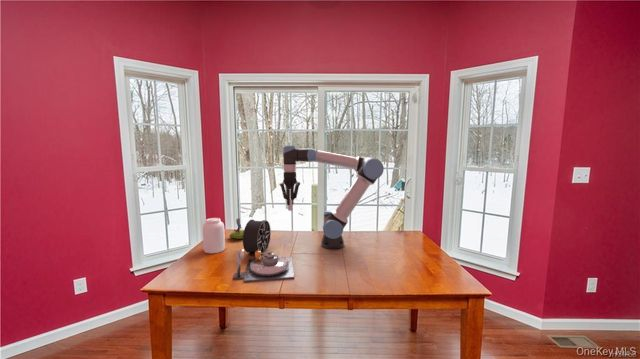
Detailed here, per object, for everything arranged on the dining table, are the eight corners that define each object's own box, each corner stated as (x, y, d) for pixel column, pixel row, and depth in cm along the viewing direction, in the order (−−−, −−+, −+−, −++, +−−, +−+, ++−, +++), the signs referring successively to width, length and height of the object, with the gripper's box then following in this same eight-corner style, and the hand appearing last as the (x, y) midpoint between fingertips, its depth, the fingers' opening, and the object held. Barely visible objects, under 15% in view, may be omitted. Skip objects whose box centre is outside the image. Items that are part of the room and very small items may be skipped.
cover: (269, 258, 147) (268, 249, 146) (281, 261, 143) (280, 252, 143) (259, 264, 140) (259, 254, 139) (272, 267, 136) (271, 257, 136)
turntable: (267, 256, 155) (266, 244, 154) (296, 263, 146) (296, 251, 145) (242, 270, 137) (241, 257, 136) (273, 279, 128) (272, 265, 127)
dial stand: (245, 273, 136) (244, 248, 135) (243, 278, 131) (242, 252, 130) (234, 274, 136) (233, 248, 134) (233, 279, 131) (232, 252, 129)
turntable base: (291, 258, 155) (291, 256, 155) (294, 278, 132) (293, 276, 132) (248, 261, 152) (248, 259, 151) (243, 282, 128) (243, 279, 128)
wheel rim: (257, 259, 154) (257, 225, 152) (243, 257, 156) (242, 224, 154) (270, 246, 174) (270, 216, 171) (257, 245, 176) (257, 215, 173)
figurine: (231, 235, 195) (231, 215, 193) (249, 234, 197) (248, 214, 195) (227, 242, 182) (226, 220, 180) (246, 241, 183) (245, 220, 181)
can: (207, 255, 159) (206, 223, 156) (200, 249, 168) (199, 218, 166) (228, 250, 167) (227, 219, 165) (220, 244, 176) (219, 215, 174)
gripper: (296, 170, 165) (297, 207, 168) (277, 171, 159) (277, 210, 162) (302, 171, 159) (302, 210, 162) (282, 172, 152) (282, 212, 155)
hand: (290, 210), depth 162 cm, fingers closed
